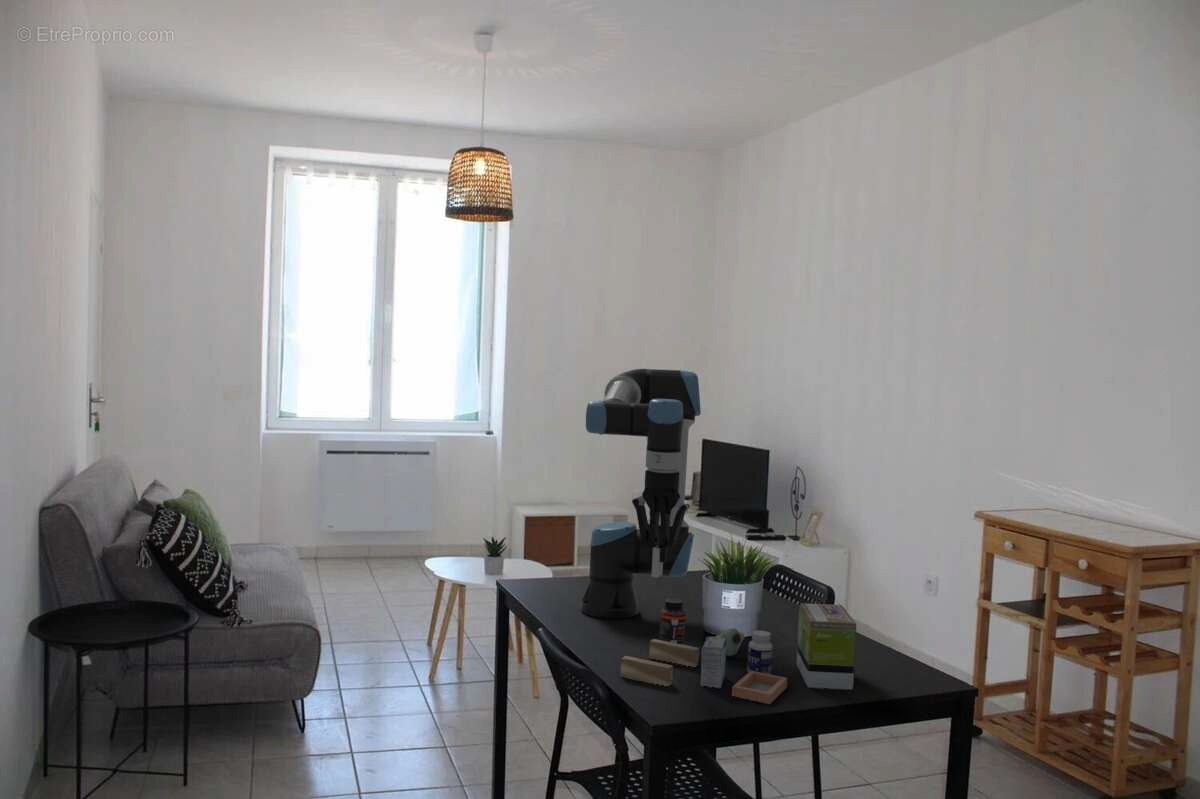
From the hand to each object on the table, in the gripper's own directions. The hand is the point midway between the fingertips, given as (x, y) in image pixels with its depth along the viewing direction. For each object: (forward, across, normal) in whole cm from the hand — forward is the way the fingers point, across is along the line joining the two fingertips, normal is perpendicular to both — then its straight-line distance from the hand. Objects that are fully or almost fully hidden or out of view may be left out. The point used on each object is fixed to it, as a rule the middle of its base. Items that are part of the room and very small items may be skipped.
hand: (656, 575), depth 222 cm
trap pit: (+20, +26, -4) cm, 33 cm away
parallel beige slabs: (+20, +3, -4) cm, 20 cm away
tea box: (+20, +35, +12) cm, 43 cm away
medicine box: (+20, +16, -4) cm, 26 cm away
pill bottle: (+20, +22, +8) cm, 31 cm away
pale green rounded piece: (+20, +13, +15) cm, 29 cm away
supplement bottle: (+21, -1, +13) cm, 24 cm away
